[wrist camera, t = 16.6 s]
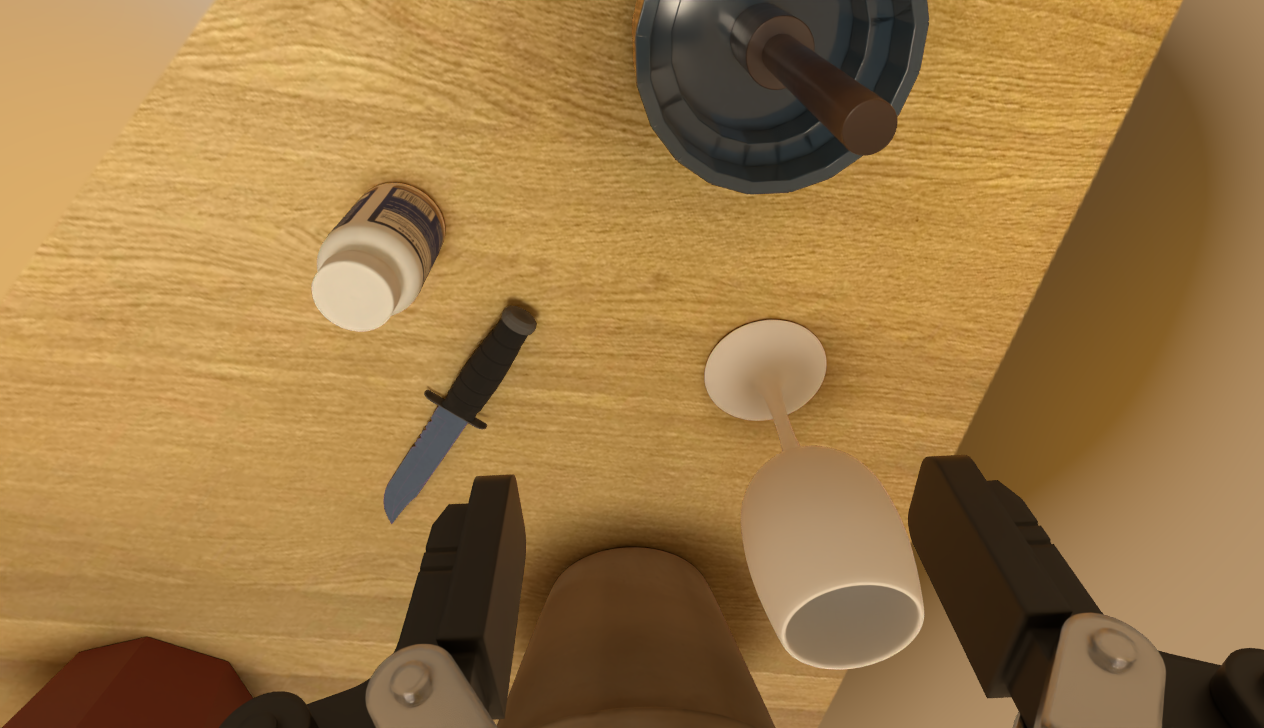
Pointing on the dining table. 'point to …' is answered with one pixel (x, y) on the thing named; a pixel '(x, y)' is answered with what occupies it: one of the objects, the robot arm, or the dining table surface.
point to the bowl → (747, 112)
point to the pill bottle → (378, 257)
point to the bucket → (136, 690)
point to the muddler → (810, 78)
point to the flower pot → (633, 651)
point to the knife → (459, 407)
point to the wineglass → (814, 513)
